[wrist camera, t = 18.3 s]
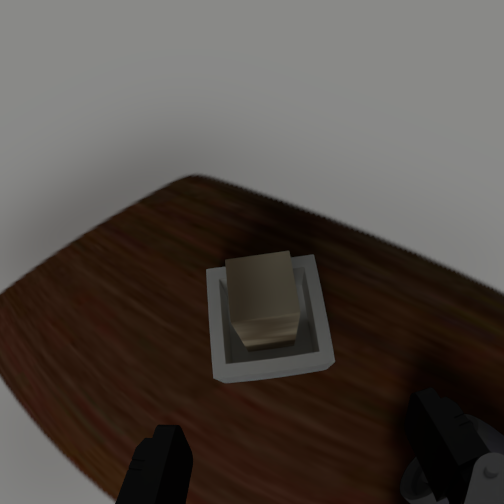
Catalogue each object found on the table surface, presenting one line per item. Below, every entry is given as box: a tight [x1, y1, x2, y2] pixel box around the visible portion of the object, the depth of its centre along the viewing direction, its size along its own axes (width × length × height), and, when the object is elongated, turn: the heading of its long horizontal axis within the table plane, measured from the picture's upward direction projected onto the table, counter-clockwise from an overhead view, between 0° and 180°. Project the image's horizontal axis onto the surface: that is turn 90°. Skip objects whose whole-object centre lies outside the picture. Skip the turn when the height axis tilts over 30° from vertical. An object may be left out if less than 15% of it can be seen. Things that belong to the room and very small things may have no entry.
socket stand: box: [206, 254, 335, 383], centre depth 26 cm, size 9×9×5 cm
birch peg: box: [225, 251, 300, 352], centre depth 23 cm, size 4×4×10 cm
